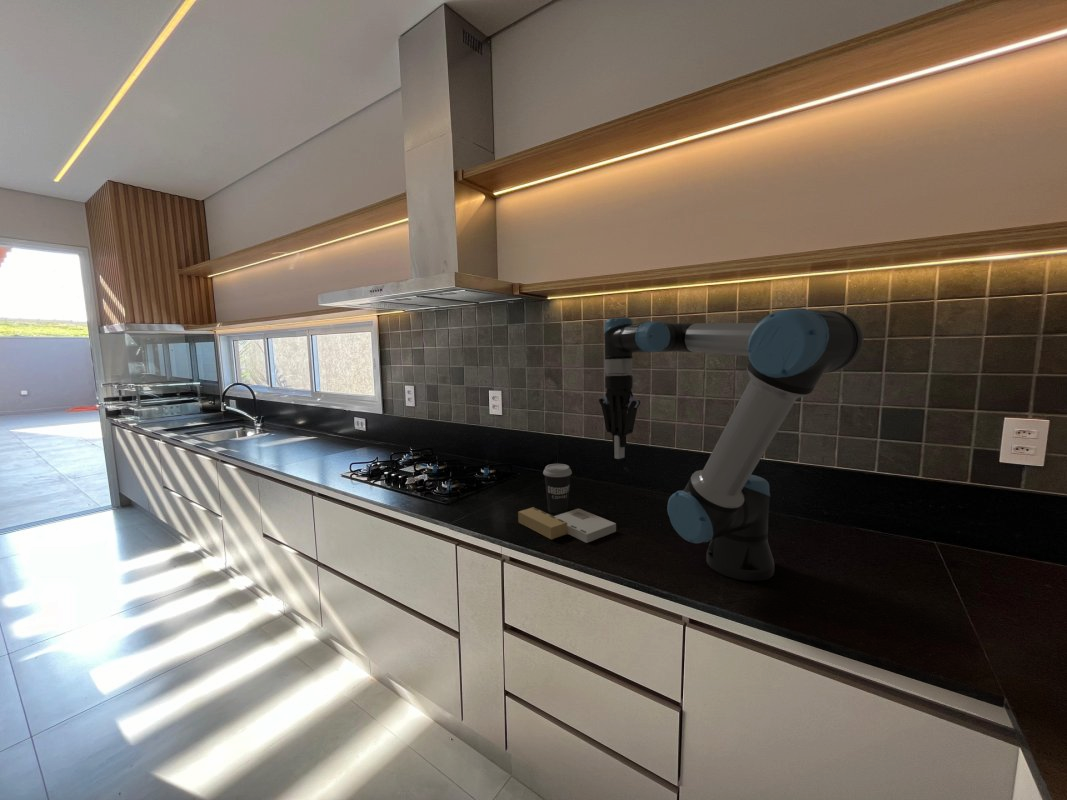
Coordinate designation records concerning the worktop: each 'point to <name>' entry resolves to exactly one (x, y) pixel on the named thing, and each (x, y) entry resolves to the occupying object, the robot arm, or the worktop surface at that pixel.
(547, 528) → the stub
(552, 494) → the coffee cup
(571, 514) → the flat white box
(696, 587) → the worktop surface
